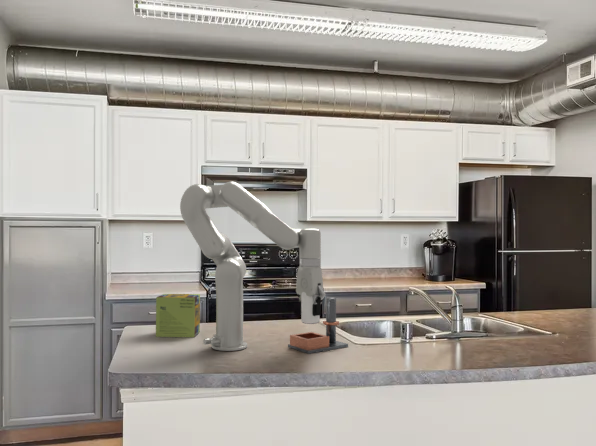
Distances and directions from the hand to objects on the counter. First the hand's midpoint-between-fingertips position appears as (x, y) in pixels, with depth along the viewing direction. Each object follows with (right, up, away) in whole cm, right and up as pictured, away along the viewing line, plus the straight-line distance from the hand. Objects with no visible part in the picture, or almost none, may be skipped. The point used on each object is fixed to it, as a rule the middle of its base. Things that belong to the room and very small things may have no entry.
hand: (310, 313), depth 195 cm
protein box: (-52, -12, +22) cm, 58 cm away
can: (0, -3, 0) cm, 3 cm away
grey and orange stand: (+3, -12, +2) cm, 13 cm away
